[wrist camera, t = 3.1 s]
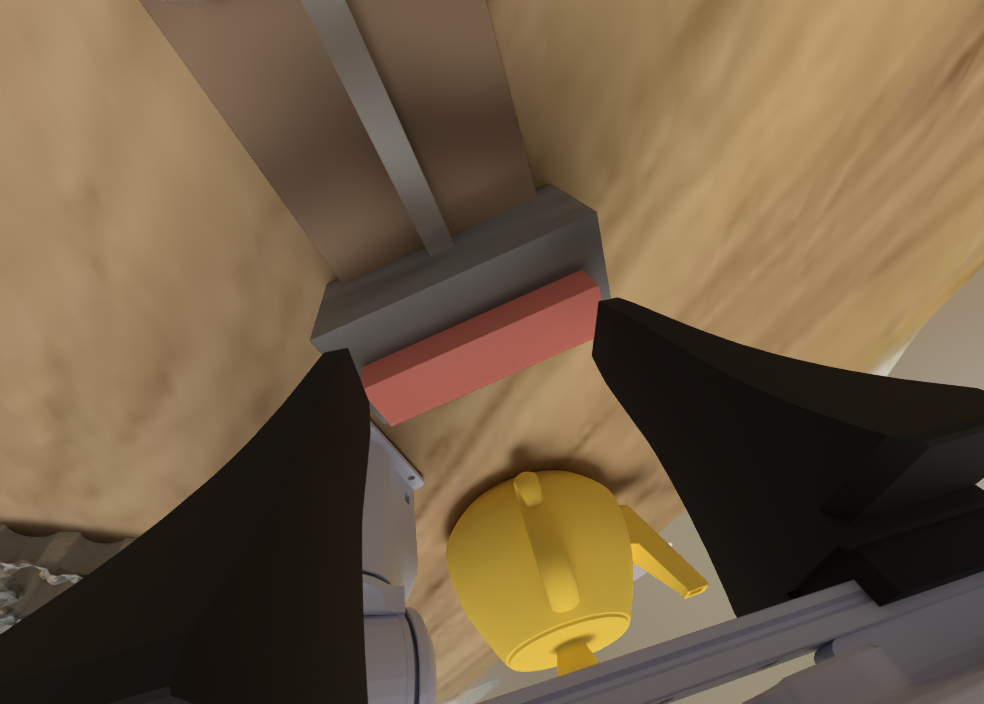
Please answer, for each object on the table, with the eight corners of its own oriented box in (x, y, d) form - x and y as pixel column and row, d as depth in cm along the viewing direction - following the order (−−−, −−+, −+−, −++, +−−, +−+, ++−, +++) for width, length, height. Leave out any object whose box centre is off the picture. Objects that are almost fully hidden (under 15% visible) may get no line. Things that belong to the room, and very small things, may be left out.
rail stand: (572, 278, 21) (614, 323, 17) (384, 362, 21) (383, 424, 17) (424, -348, 9) (451, -670, 5) (11, -137, 10) (-248, -289, 6)
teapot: (461, 573, 40) (486, 737, 30) (415, 475, 28) (430, 690, 18) (630, 520, 42) (707, 658, 32) (652, 408, 30) (783, 569, 20)
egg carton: (176, 537, 27) (147, 599, 23) (142, 587, 29) (112, 649, 26) (-46, 508, 21) (-124, 585, 18) (-66, 573, 23) (-137, 651, 20)
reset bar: (591, 314, 16) (607, 332, 15) (391, 402, 17) (391, 426, 16) (582, 269, 15) (598, 285, 14) (362, 366, 15) (360, 390, 14)
